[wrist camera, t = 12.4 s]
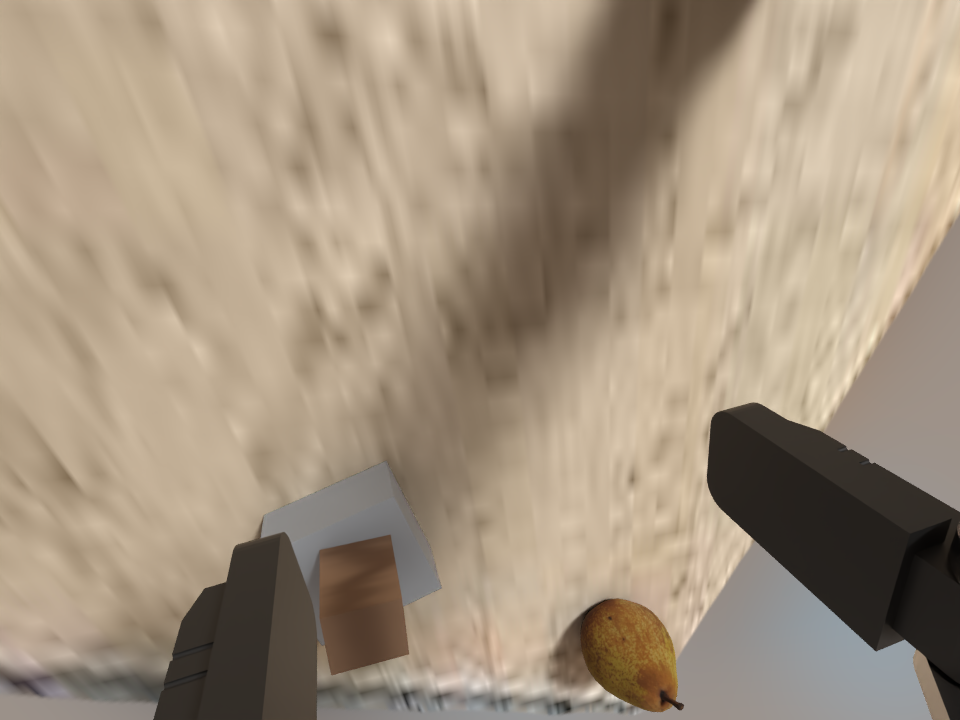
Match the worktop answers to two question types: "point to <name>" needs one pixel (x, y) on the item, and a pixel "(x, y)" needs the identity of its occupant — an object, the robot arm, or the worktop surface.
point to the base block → (357, 530)
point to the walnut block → (361, 604)
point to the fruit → (631, 654)
